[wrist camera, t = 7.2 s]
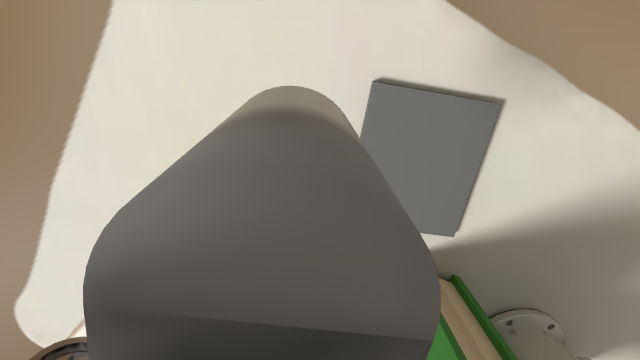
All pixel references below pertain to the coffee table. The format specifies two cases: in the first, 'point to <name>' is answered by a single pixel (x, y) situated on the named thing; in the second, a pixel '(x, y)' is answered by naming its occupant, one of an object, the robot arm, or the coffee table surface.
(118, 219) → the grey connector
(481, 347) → the hardback book
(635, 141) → the coffee table surface
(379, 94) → the charcoal mat
